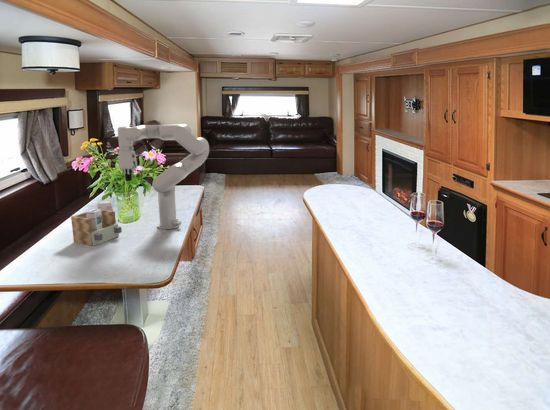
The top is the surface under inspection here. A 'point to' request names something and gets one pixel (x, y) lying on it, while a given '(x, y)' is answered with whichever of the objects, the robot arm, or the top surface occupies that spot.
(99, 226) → the syrup box
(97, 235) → the tray
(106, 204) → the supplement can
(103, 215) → the bay
